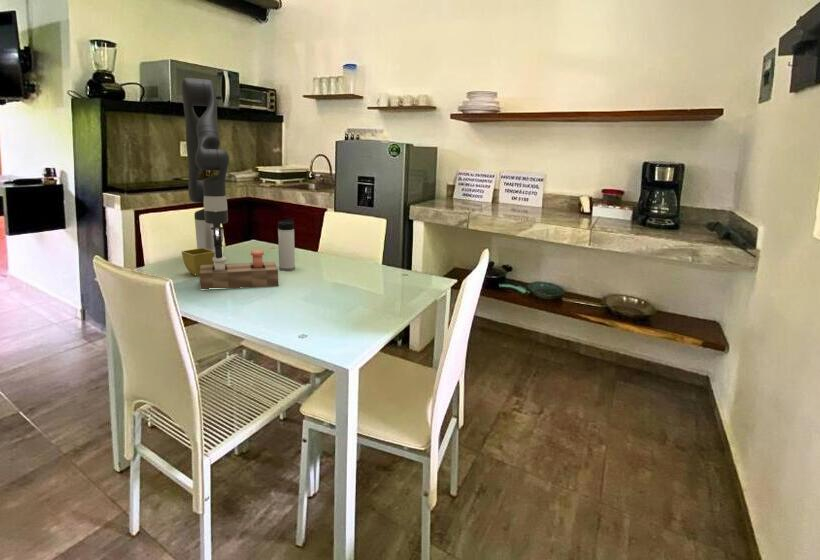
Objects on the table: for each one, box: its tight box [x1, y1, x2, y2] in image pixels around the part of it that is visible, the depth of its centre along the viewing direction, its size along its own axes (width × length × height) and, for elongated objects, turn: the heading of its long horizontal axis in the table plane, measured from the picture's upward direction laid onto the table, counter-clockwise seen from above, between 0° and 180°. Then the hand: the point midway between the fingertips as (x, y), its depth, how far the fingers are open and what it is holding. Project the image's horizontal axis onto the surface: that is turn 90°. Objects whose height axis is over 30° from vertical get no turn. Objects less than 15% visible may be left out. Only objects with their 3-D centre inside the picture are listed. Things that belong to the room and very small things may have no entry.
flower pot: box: [180, 248, 215, 276], centre depth 184 cm, size 9×9×9 cm
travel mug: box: [277, 218, 296, 272], centre depth 195 cm, size 6×7×20 cm
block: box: [199, 261, 279, 290], centre depth 175 cm, size 12×26×6 cm, turn 111°
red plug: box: [250, 249, 265, 269], centre depth 176 cm, size 4×4×7 cm
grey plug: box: [213, 255, 227, 270], centre depth 172 cm, size 4×4×7 cm
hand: (219, 257), depth 171 cm, fingers closed
